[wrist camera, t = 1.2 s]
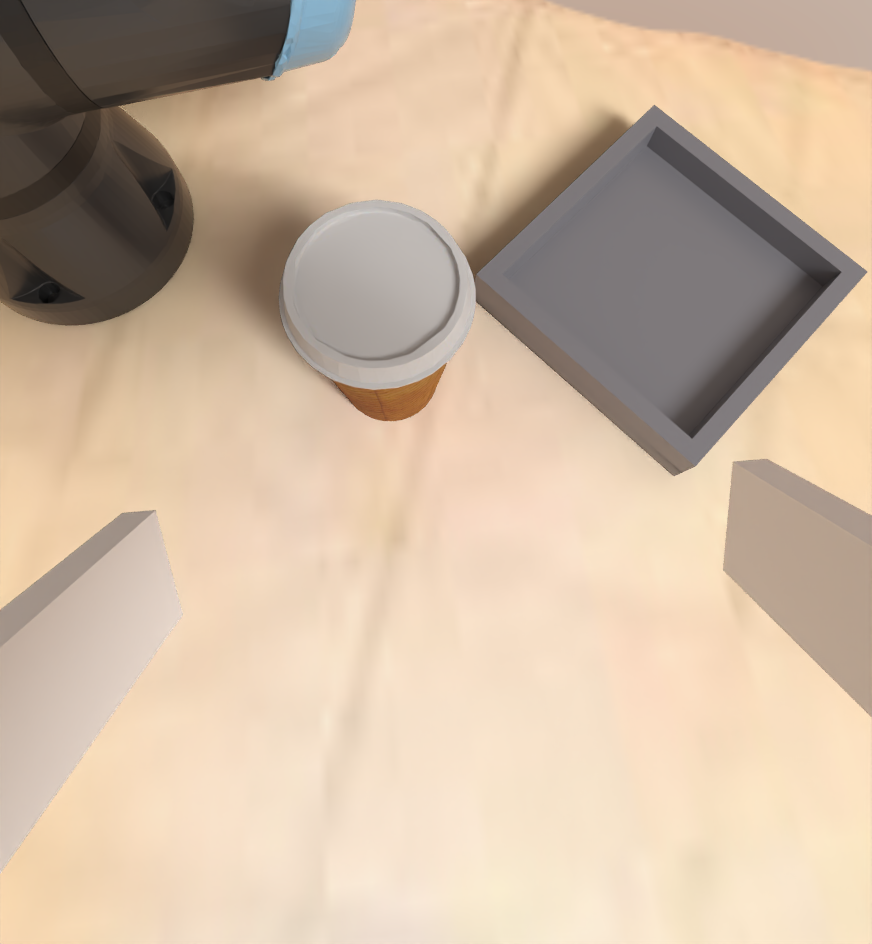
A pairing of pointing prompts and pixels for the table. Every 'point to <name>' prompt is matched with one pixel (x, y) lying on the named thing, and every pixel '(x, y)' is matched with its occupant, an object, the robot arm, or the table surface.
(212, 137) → the table surface
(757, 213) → the charcoal serving tray
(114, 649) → the robot arm
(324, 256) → the disposable coffee cup
